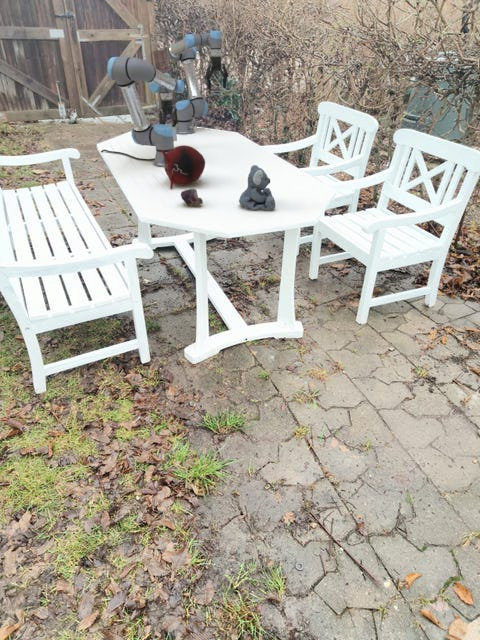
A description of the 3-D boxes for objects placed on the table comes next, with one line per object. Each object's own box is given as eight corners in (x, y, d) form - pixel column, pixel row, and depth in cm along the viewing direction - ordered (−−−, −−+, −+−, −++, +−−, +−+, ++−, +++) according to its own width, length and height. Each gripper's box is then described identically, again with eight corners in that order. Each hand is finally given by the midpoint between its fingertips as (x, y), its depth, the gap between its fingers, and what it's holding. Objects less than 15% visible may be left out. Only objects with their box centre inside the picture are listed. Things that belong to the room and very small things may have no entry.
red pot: (163, 151, 265) (157, 149, 242) (201, 142, 264) (199, 140, 241) (172, 187, 272) (167, 189, 248) (209, 179, 271) (208, 180, 248)
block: (169, 142, 314) (168, 127, 309) (163, 139, 320) (162, 125, 315) (177, 140, 317) (175, 126, 312) (171, 138, 323) (169, 124, 318)
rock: (196, 202, 238) (178, 205, 233) (194, 185, 234) (176, 188, 230) (205, 205, 228) (187, 208, 224) (203, 188, 224) (185, 191, 220)
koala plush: (276, 211, 223) (277, 171, 212) (240, 212, 222) (240, 172, 211) (271, 199, 237) (272, 161, 226) (237, 200, 236) (237, 162, 225)
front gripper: (156, 101, 297) (160, 138, 310) (181, 98, 306) (184, 134, 319) (151, 100, 302) (155, 136, 315) (176, 97, 311) (179, 132, 324)
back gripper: (204, 57, 315) (205, 91, 327) (233, 55, 327) (233, 87, 339) (198, 56, 320) (200, 89, 332) (227, 54, 332) (227, 86, 344)
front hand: (169, 135), depth 317 cm, fingers closed on block, 6 cm apart
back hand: (217, 89), depth 336 cm, fingers open, 13 cm apart
